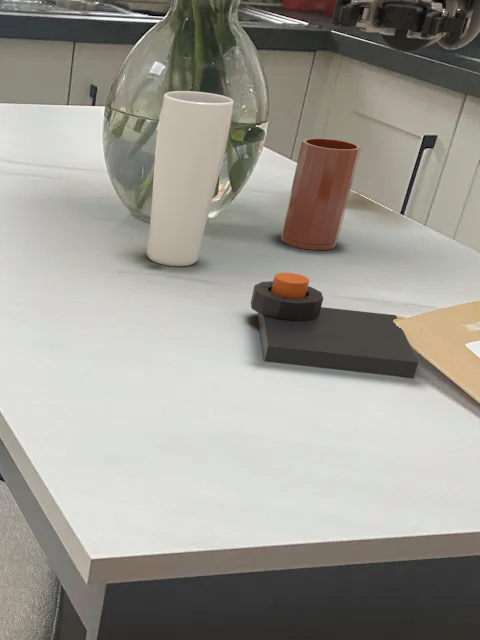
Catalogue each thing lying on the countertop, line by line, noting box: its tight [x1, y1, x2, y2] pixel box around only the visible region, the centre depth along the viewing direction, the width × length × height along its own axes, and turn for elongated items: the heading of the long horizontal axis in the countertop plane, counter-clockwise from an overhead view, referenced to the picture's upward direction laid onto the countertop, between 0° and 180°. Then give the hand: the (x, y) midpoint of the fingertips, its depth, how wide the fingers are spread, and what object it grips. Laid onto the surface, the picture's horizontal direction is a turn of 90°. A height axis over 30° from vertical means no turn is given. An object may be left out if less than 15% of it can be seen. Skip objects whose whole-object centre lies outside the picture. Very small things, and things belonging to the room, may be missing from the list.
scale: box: [250, 280, 419, 379], centre depth 92 cm, size 13×13×3 cm
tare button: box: [271, 272, 310, 298], centre depth 94 cm, size 3×3×2 cm
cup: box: [280, 137, 362, 251], centre depth 116 cm, size 6×6×10 cm
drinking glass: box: [146, 90, 235, 267], centre depth 105 cm, size 7×7×15 cm
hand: (386, 21), depth 114 cm, fingers open, 8 cm apart
